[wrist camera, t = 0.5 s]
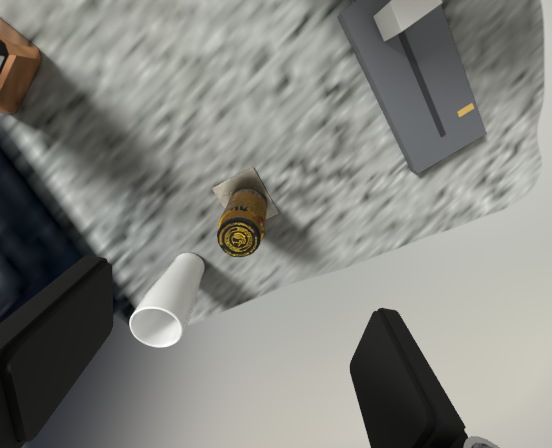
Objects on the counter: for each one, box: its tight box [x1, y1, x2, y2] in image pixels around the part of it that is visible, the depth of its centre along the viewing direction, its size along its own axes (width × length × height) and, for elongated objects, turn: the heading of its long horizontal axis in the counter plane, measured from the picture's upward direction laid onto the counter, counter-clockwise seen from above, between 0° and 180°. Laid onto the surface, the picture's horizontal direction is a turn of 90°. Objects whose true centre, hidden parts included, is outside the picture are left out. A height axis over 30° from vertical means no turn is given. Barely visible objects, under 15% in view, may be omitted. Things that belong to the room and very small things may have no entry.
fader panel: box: [338, 0, 486, 174], centre depth 36 cm, size 23×10×2 cm, turn 34°
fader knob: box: [373, 0, 443, 42], centre depth 30 cm, size 3×4×5 cm
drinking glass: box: [129, 253, 205, 347], centre depth 41 cm, size 7×7×15 cm
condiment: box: [212, 167, 279, 257], centre depth 38 cm, size 7×8×12 cm
